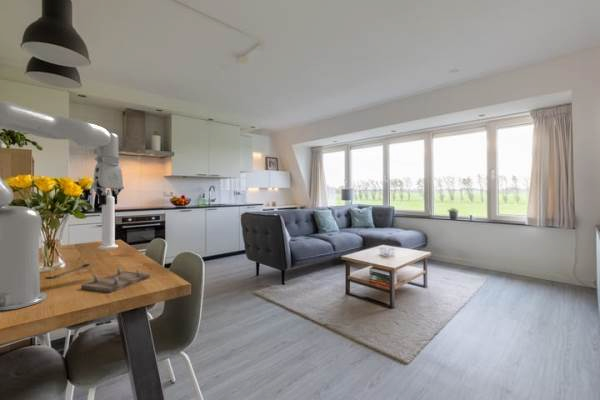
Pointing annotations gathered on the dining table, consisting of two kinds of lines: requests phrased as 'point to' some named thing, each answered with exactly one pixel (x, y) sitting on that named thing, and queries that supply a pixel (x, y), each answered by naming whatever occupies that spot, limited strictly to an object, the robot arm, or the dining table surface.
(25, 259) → the robot arm
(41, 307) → the dining table surface
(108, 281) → the peg stand
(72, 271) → the tactical tomahawk
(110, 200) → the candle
